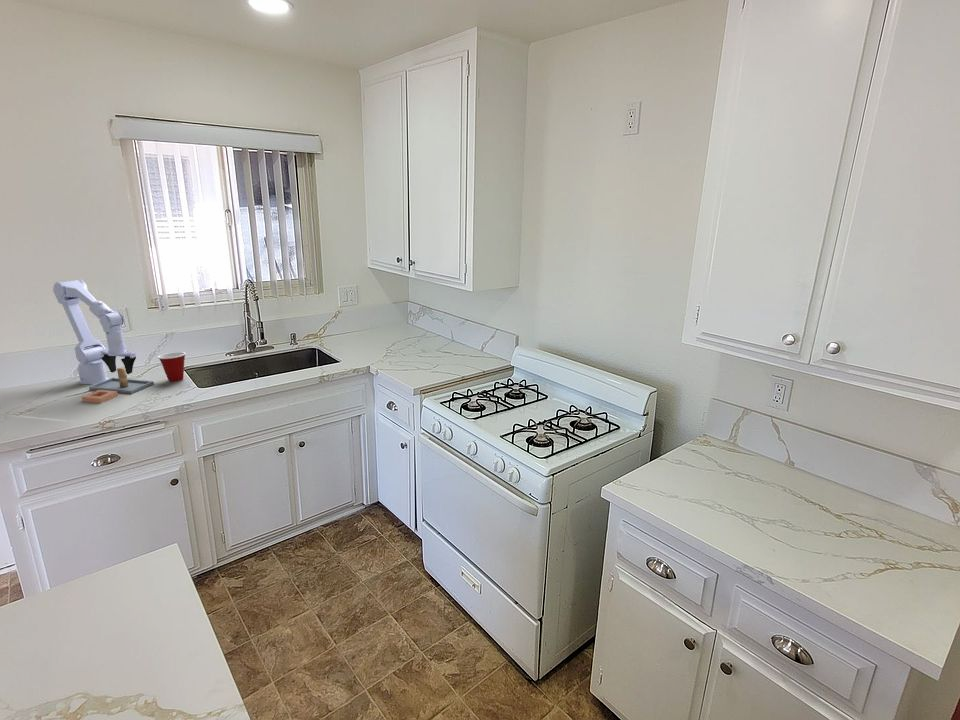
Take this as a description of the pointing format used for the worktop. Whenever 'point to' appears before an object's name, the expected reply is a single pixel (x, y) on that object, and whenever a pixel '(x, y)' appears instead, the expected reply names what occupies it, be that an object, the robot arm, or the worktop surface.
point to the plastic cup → (173, 365)
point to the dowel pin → (122, 377)
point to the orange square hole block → (99, 396)
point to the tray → (114, 385)
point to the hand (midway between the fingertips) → (121, 372)
